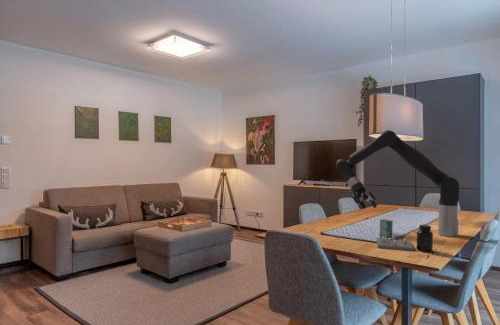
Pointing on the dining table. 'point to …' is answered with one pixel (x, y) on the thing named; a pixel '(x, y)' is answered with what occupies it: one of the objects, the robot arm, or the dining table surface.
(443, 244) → the dining table surface
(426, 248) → the supplement bottle
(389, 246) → the base plate
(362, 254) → the dining table surface
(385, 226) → the teal block
